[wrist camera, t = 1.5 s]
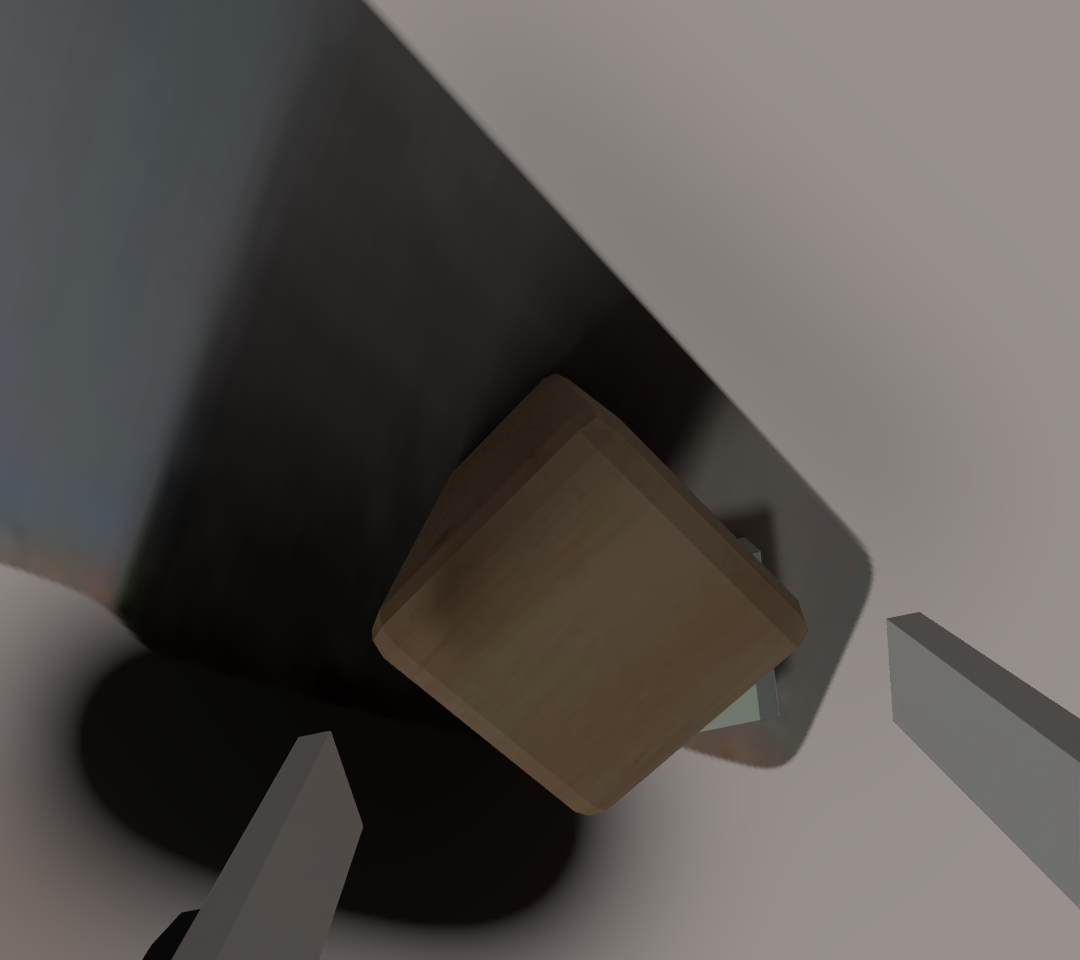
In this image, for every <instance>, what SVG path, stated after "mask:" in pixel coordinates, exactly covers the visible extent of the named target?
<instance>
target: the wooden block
mask: <svg viewBox="0 0 1080 960" xmlns="http://www.w3.org/2000/svg"><path fill="white" fill-rule="evenodd" d="M807 632H808V628H807V626H806V623H805V620H804V617H803V614H802V611H801V608H800V605H799V602H798V600H797V599H796V598H795V597H794V596H793V595H792V594H791V593H790V592H789V591H788V590H787V589H786V588H785V587H784V586H783V585H782V584H781V583H780V581H779V580H778V579H777V578H776V577H775V576H774V575H773V574H772V573H771V572H770V571H769V570H768V569H767V568H766V567H765V566H764V565H763V564H762V563H761V562H760V561H759V560H758V559H757V558H756V557H755V556H754V555H753V554H752V553H751V552H750V551H749V550H748V549H747V548H746V547H745V546H744V545H743V544H742V543H741V542H740V541H739V540H738V539H737V538H736V537H735V536H734V535H733V534H732V533H731V532H730V531H729V530H728V529H727V528H726V527H725V526H724V524H723V523H722V522H721V521H720V520H719V519H718V518H717V517H716V516H715V515H714V514H713V513H712V512H711V511H710V510H709V509H708V508H707V507H706V506H705V505H704V504H703V503H702V502H701V501H700V500H699V499H698V498H697V497H696V496H695V495H694V494H693V493H692V492H691V491H690V490H689V489H688V488H687V487H686V486H685V485H684V484H683V483H682V482H681V481H680V480H679V479H678V478H677V477H676V476H675V475H674V474H673V473H672V472H671V471H670V470H669V469H668V467H667V466H666V465H665V464H664V463H663V462H662V461H661V460H660V459H659V458H658V457H657V456H656V455H655V454H654V453H653V452H652V451H651V450H650V449H649V448H648V447H647V446H646V445H645V444H644V443H643V442H642V441H641V440H640V439H639V438H638V437H637V436H636V435H635V434H634V433H633V432H632V431H631V430H630V429H629V428H628V427H627V426H626V425H625V424H624V423H623V422H622V421H621V420H620V419H619V418H618V417H617V416H615V415H614V414H613V413H612V412H610V411H609V410H608V409H606V408H605V407H604V406H602V405H601V404H600V403H599V402H597V401H596V400H595V399H593V398H592V397H591V396H589V395H588V394H587V393H586V392H584V391H583V390H582V389H580V388H579V387H578V386H577V385H575V384H574V383H573V382H571V381H570V380H569V379H567V378H565V377H563V376H560V375H558V374H553V375H551V376H548V377H546V378H544V379H543V380H542V381H541V382H540V383H539V384H538V385H537V386H536V387H535V388H534V389H533V390H532V391H531V392H530V393H529V394H528V395H527V396H526V397H525V398H524V399H523V400H522V401H521V402H520V403H519V404H518V405H517V406H516V407H515V408H514V409H513V410H512V411H511V413H510V414H509V415H508V416H507V417H506V418H505V419H504V420H503V421H502V422H501V423H500V424H499V425H498V426H497V427H496V428H495V429H494V430H493V431H492V432H491V433H490V434H489V435H488V436H487V437H486V438H485V439H484V440H483V441H482V442H481V443H480V444H479V445H478V447H477V448H476V449H475V450H474V451H473V452H472V453H471V454H470V455H469V456H468V457H467V458H466V459H465V460H464V461H463V462H462V463H461V464H460V465H459V466H458V467H457V468H456V469H455V470H454V471H453V472H452V473H451V475H450V477H449V479H448V481H447V483H446V485H445V487H444V489H443V490H442V492H441V494H440V496H439V498H438V500H437V502H436V504H435V506H434V507H433V509H432V511H431V513H430V515H429V517H428V519H427V521H426V523H425V525H424V526H423V528H422V530H421V532H420V534H419V536H418V538H417V540H416V542H415V544H414V545H413V547H412V549H411V551H410V553H409V555H408V557H407V559H406V561H405V562H404V564H403V566H402V568H401V570H400V572H399V574H398V576H397V578H396V580H395V581H394V583H393V585H392V587H391V589H390V591H389V593H388V595H387V597H386V599H385V600H384V602H383V604H382V606H381V608H380V610H379V613H378V616H377V618H376V621H375V624H374V626H373V629H372V636H373V641H374V643H375V644H376V646H377V648H378V649H379V651H380V652H381V654H382V655H383V657H384V658H385V659H386V660H387V661H388V662H390V663H391V664H392V665H393V666H395V667H396V668H397V669H398V670H400V671H401V672H402V673H403V674H405V675H406V676H407V677H408V678H410V679H411V680H412V681H413V682H415V683H416V684H417V685H418V686H420V687H421V688H422V689H423V690H425V691H426V692H427V693H428V694H429V695H431V696H432V697H433V698H434V699H436V700H437V701H438V702H439V703H441V704H442V705H443V706H444V707H446V708H447V709H448V710H449V711H451V712H452V713H453V714H454V715H456V716H457V717H458V718H459V719H461V720H462V721H463V722H464V723H466V724H467V725H468V726H469V727H470V728H472V729H473V730H474V731H475V732H477V733H478V734H479V735H480V736H482V737H483V738H484V739H485V740H487V741H488V742H489V743H490V744H492V745H493V746H494V747H495V748H497V749H498V750H499V751H500V752H502V753H503V754H504V755H505V756H507V757H508V758H509V759H510V760H512V761H513V762H514V763H515V764H516V765H518V766H519V767H520V768H521V769H523V770H524V771H525V772H526V773H528V774H529V775H530V776H531V777H533V778H534V779H535V780H536V781H538V782H539V783H540V784H541V785H543V786H544V787H545V788H546V789H548V790H549V791H550V792H551V793H553V794H554V795H555V796H556V797H558V798H559V799H560V800H561V801H562V802H564V803H565V804H566V805H567V806H569V807H570V808H571V809H573V810H574V811H575V812H578V813H581V814H585V815H588V816H592V815H595V814H598V813H601V812H604V811H606V810H608V809H609V808H610V807H611V806H612V805H614V804H615V803H616V802H617V801H618V800H619V799H621V798H622V797H623V796H624V795H625V794H627V793H628V792H629V791H630V790H631V789H632V788H634V787H635V786H636V785H637V784H638V783H639V782H641V781H642V780H643V779H644V778H645V777H647V776H648V775H649V774H650V773H651V772H652V771H654V770H655V769H656V768H657V767H658V766H660V765H661V764H662V763H663V762H664V761H665V760H666V759H668V758H669V757H670V756H671V755H673V754H674V753H675V752H676V751H677V750H678V749H680V748H681V747H682V746H683V745H684V744H685V743H687V742H688V741H689V740H690V739H691V738H693V737H694V736H695V735H696V734H697V733H698V732H700V731H701V730H702V729H703V728H704V727H706V726H707V725H708V724H709V723H710V722H711V721H713V720H714V719H715V718H716V717H717V716H718V715H720V714H721V713H722V712H723V711H724V710H726V709H727V708H728V707H729V706H730V705H731V704H733V703H734V702H735V701H736V700H737V699H738V698H740V697H741V696H742V695H743V694H744V693H746V692H747V691H748V690H749V689H750V688H751V687H753V686H754V685H755V684H756V683H757V682H759V681H760V680H761V679H762V678H763V677H764V676H766V675H767V674H768V673H769V672H770V671H771V670H773V669H774V668H775V667H776V666H777V665H779V664H780V663H781V662H782V661H783V660H784V659H786V658H787V657H788V656H789V655H790V654H792V653H793V652H794V651H795V650H796V649H797V648H798V647H799V646H800V644H801V642H802V640H803V639H804V637H805V635H806V633H807Z"/></svg>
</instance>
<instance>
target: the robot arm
mask: <svg viewBox="0 0 1080 960" xmlns="http://www.w3.org/2000/svg"><path fill="white" fill-rule="evenodd" d="M887 634H888V650H889V665H890V681H891V696H892V712H893V721H894V722H895V723H896V724H897V725H898V726H899V727H900V728H901V729H902V730H903V731H904V732H905V733H906V734H907V735H908V736H909V737H910V738H911V739H912V740H913V741H914V742H915V743H916V744H917V745H918V746H919V747H920V748H921V749H922V750H923V752H925V753H926V754H927V755H928V757H929V758H930V759H931V760H933V762H934V763H936V764H937V766H938V767H939V768H940V769H941V770H942V771H943V772H944V773H945V774H946V775H947V776H948V777H949V778H950V779H951V780H952V781H953V782H954V783H955V784H956V785H957V786H958V787H959V788H960V789H961V790H962V791H963V792H965V794H966V795H967V796H968V797H969V798H970V799H971V800H972V801H973V802H974V803H975V804H976V805H977V806H978V807H979V808H980V809H981V810H982V811H983V812H984V813H985V814H986V815H987V816H988V817H989V818H990V819H991V820H992V821H993V822H994V823H995V824H996V825H997V826H998V827H999V828H1000V829H1001V830H1002V831H1003V832H1004V833H1005V834H1006V835H1007V836H1008V837H1009V838H1010V839H1011V840H1012V841H1013V842H1014V843H1015V844H1016V845H1017V846H1018V847H1019V848H1020V849H1021V850H1022V851H1023V852H1024V853H1025V854H1026V855H1027V856H1028V857H1029V858H1030V859H1031V860H1032V861H1033V862H1034V863H1035V864H1036V865H1037V866H1038V867H1039V868H1040V869H1041V870H1042V871H1043V872H1044V873H1045V874H1046V875H1047V876H1048V877H1049V878H1050V879H1051V880H1052V881H1053V882H1054V883H1055V884H1056V885H1057V887H1058V888H1059V889H1060V890H1062V891H1063V893H1065V895H1066V896H1067V897H1069V898H1070V900H1071V901H1072V902H1073V903H1074V904H1075V905H1076V906H1077V907H1078V908H1079V909H1080V719H1079V718H1078V717H1076V716H1075V715H1073V714H1071V713H1070V712H1069V711H1067V710H1066V709H1064V708H1063V707H1061V706H1060V705H1058V704H1057V703H1055V702H1054V701H1052V700H1051V699H1049V698H1048V697H1046V696H1045V695H1043V694H1042V693H1040V692H1039V691H1037V690H1036V689H1034V688H1033V687H1031V686H1030V685H1028V684H1027V683H1025V682H1024V681H1022V680H1021V679H1019V678H1018V677H1016V676H1015V675H1013V674H1012V673H1010V672H1009V671H1007V670H1005V669H1004V668H1003V667H1001V666H1000V665H998V664H997V663H995V662H994V661H992V660H991V659H989V658H988V657H986V656H985V655H983V654H982V653H980V652H979V651H977V650H975V649H974V648H973V647H971V646H970V645H968V644H967V643H965V642H964V641H962V640H961V639H959V638H958V637H956V636H955V635H953V634H952V633H950V632H949V631H947V630H946V629H944V628H943V627H941V626H940V625H938V624H937V623H935V622H934V621H932V620H931V619H929V618H928V617H926V616H925V615H923V614H922V613H920V612H918V613H912V614H907V615H903V616H897V617H892V618H887ZM362 828H363V825H362V822H361V819H360V816H359V813H358V810H357V807H356V804H355V801H354V799H353V796H352V792H351V790H350V787H349V784H348V781H347V778H346V775H345V772H344V769H343V766H342V763H341V761H340V757H339V754H338V752H337V749H336V746H335V743H334V740H333V737H332V734H331V732H330V731H328V732H323V733H318V734H313V735H308V736H303V737H299V738H298V740H297V741H296V743H295V745H294V747H293V748H292V750H291V752H290V754H289V755H288V757H287V759H286V760H285V762H284V764H283V766H282V767H281V769H280V771H279V773H278V775H277V776H276V778H275V780H274V781H273V783H272V785H271V787H270V788H269V790H268V792H267V794H266V796H265V797H264V799H263V801H262V803H261V804H260V806H259V808H258V809H257V811H256V813H255V815H254V816H253V818H252V820H251V822H250V823H249V825H248V827H247V829H246V830H245V832H244V834H243V836H242V837H241V839H240V841H239V843H238V844H237V846H236V848H235V850H234V851H233V853H232V855H231V857H230V858H229V860H228V862H227V864H226V866H225V867H224V869H223V871H222V872H221V874H220V876H219V878H218V879H217V881H216V883H215V885H214V886H213V888H212V890H211V892H210V894H209V895H208V897H207V899H206V900H205V902H204V904H203V906H202V907H201V909H198V910H193V911H188V912H183V913H181V914H180V915H179V916H178V917H177V918H176V919H175V920H174V921H173V922H172V923H171V925H169V927H168V928H167V929H166V930H165V931H164V932H163V933H162V934H161V935H160V936H159V937H158V938H157V940H156V941H155V942H154V943H153V944H152V945H151V947H150V948H149V950H148V951H147V953H146V955H145V956H144V958H143V960H319V958H320V955H321V951H322V949H323V946H324V942H325V940H326V936H327V934H328V931H329V928H330V924H331V921H332V918H333V915H334V912H335V909H336V906H337V903H338V900H339V897H340V894H341V891H342V888H343V885H344V882H345V879H346V876H347V873H348V870H349V867H350V864H351V861H352V858H353V855H354V852H355V849H356V846H357V843H358V840H359V837H360V834H361V831H362Z"/></svg>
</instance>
